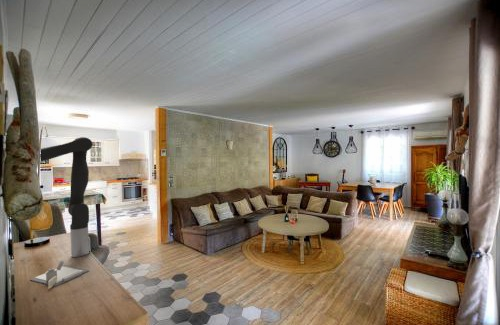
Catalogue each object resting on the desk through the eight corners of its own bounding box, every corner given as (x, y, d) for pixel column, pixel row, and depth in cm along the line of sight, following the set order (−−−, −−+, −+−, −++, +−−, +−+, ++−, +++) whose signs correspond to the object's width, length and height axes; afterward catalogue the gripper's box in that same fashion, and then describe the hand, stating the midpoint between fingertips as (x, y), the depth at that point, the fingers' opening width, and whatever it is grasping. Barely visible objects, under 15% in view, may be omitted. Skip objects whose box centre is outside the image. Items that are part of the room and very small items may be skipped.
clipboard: (64, 266, 134) (64, 263, 134) (88, 271, 127) (88, 268, 127) (29, 280, 119) (29, 276, 119) (55, 286, 112) (55, 283, 112)
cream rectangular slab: (55, 283, 115) (55, 276, 115) (56, 283, 115) (56, 275, 115) (48, 288, 110) (48, 281, 110) (50, 288, 110) (49, 281, 110)
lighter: (46, 281, 115) (45, 265, 115) (46, 280, 117) (45, 264, 117) (64, 276, 120) (64, 261, 120) (64, 275, 121) (63, 259, 121)
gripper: (32, 188, 138) (33, 216, 138) (-1, 192, 125) (1, 222, 125) (40, 188, 135) (41, 217, 135) (7, 192, 122) (9, 223, 122)
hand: (22, 219), depth 130 cm, fingers open, 8 cm apart
